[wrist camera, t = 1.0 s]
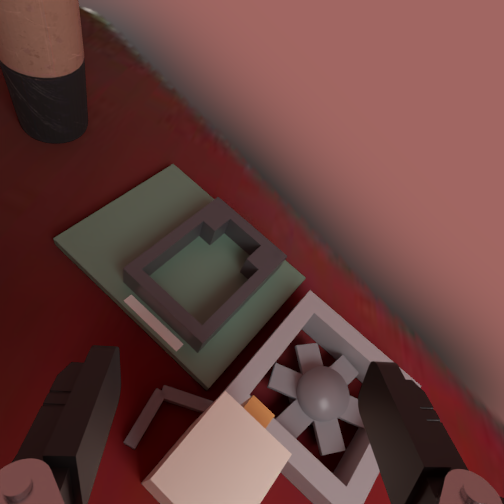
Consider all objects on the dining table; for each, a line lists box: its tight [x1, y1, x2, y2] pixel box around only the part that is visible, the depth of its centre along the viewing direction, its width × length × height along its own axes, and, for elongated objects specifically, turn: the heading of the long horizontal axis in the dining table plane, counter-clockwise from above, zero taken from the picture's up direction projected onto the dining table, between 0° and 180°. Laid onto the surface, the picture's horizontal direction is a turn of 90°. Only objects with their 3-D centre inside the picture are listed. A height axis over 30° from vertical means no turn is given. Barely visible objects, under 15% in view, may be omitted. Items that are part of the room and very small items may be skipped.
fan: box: [124, 290, 421, 504], centre depth 30 cm, size 16×18×4 cm
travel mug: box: [0, 0, 88, 143], centre depth 33 cm, size 7×7×18 cm
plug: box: [141, 391, 292, 504], centre depth 23 cm, size 4×6×12 cm
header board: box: [53, 164, 305, 391], centre depth 35 cm, size 18×14×4 cm
